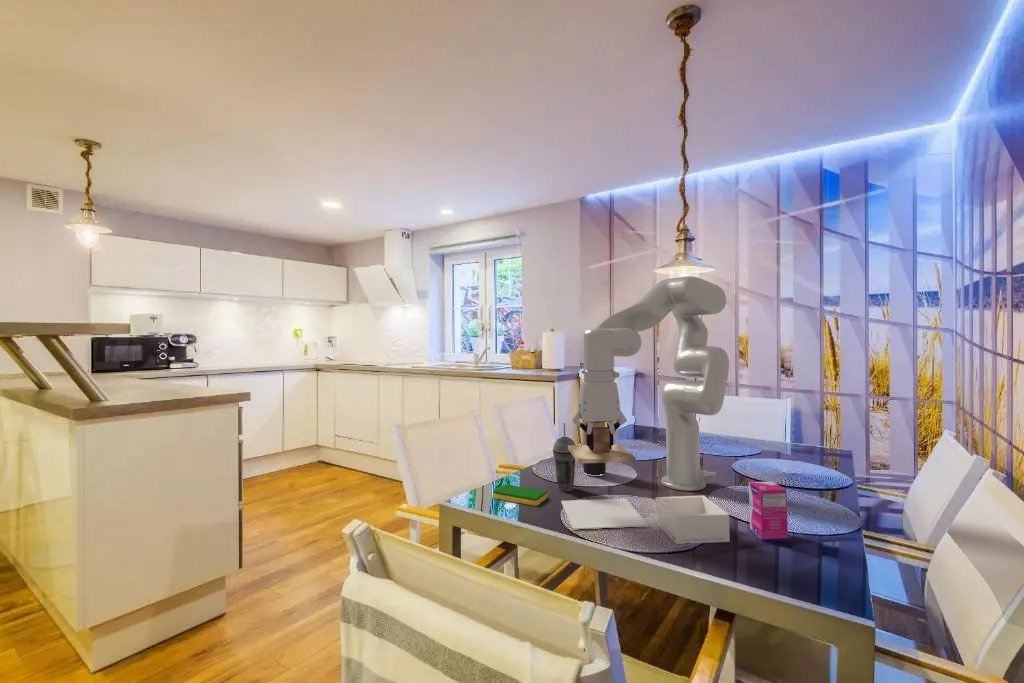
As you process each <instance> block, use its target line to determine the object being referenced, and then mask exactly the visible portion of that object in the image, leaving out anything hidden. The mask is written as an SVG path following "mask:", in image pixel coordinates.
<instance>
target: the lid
mask: <svg viewBox="0 0 1024 683" xmlns="http://www.w3.org/2000/svg"><path fill="white" fill-rule="evenodd" d="M592 434H593V450H590V449H589V448H588V446H587V445H582V444H575V445H568V450H569V451H570V452H571V454H572V455H573V457H574V458H575V462H576V463H577V464H583V463H606V464H607V463H609V464H610V463H632V462H634V463H636V461H637V460H636V457H635V456H634V455H633V454H632V453H631V452H630V451H628V450H627V449H626V448H625V447H623V446H622V445H621V444H620V443H614V444H613V446H612V450H610V437H609V428H607V425H605V426H592Z"/></svg>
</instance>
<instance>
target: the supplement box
mask: <svg viewBox="0 0 1024 683" xmlns="http://www.w3.org/2000/svg"><path fill="white" fill-rule="evenodd" d="M787 492H788V491H787V489H785V488H784V487H782V486H781V485H779V484H778V483H776V482H774V481H771V480H770V481H749V482H748V497H749V498H748V502H749V503H748V504H749V506H748V508H749V531H750V532H752V533H753V534H754V535H755V536H757V537H758V538H759V540H761V541H762V542H788V541H789V531H788V530H789V529H788V504H787V503H788V502H787V501H788V500H787V494H788V493H787Z"/></svg>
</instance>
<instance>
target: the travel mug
mask: <svg viewBox="0 0 1024 683" xmlns="http://www.w3.org/2000/svg"><path fill="white" fill-rule="evenodd" d="M581 422H582V423H583V424H584V425H585V424H586V422H584V421H582V420H581ZM593 426H606V422H593ZM581 430H582V431H581V434H582V436H581V437H582V439H581V441H582V444H581V445H586V432H585V431H584V430H583V429H582V428H581ZM606 464H607V463H582V465H583V468H582V469H583V473H584V472H585V473H587V474H591V475H600V474H604V473H605V472H606V470H607V469H606V467H607V466H606ZM606 473H607V472H606ZM606 473H605V474H606Z"/></svg>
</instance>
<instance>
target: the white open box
mask: <svg viewBox="0 0 1024 683" xmlns="http://www.w3.org/2000/svg"><path fill="white" fill-rule="evenodd" d="M655 523H656V524H658V525H659V527H660V528H661V529H662V530H663V531H664V532H665V534H666V535H667V536H668V537H669V538H670V539H671V540H672V541H673V543H674V544H675V543H676V544H675V545H685V543H690V544H705V543H706V544H708V543H709V544H710V543H729V542H730V540H731V538H730V514H729V513H728V512H727V511H725V510H724V509H722V508H721V507H720V506H718V505H717V504H716V503H715V502H713V501H712V500H710V499H709V498H708V497H706V496H705V495H681V496H680V495H679V496H678V495H676V496H657V497H655Z"/></svg>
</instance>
